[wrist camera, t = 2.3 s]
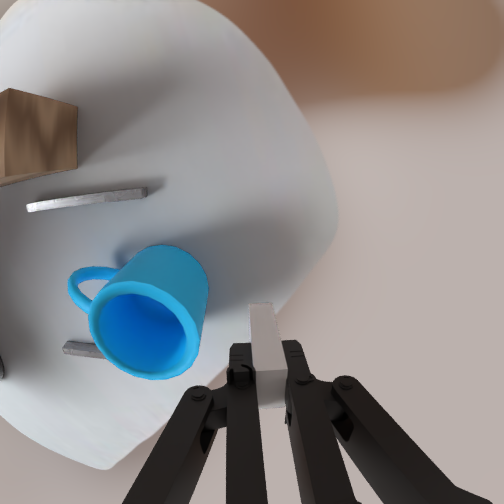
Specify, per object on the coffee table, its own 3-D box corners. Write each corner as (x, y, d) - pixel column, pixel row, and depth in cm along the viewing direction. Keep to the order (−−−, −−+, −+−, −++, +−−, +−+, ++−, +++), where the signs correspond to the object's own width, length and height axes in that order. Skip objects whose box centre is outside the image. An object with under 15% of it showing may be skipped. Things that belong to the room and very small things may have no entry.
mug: (220, 260, 25) (214, 304, 17) (196, 334, 27) (185, 392, 19) (97, 220, 23) (48, 245, 15) (87, 296, 25) (48, 339, 17)
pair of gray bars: (69, 346, 26) (64, 353, 25) (35, 202, 21) (26, 204, 20) (169, 354, 27) (166, 363, 26) (146, 187, 22) (141, 188, 21)
